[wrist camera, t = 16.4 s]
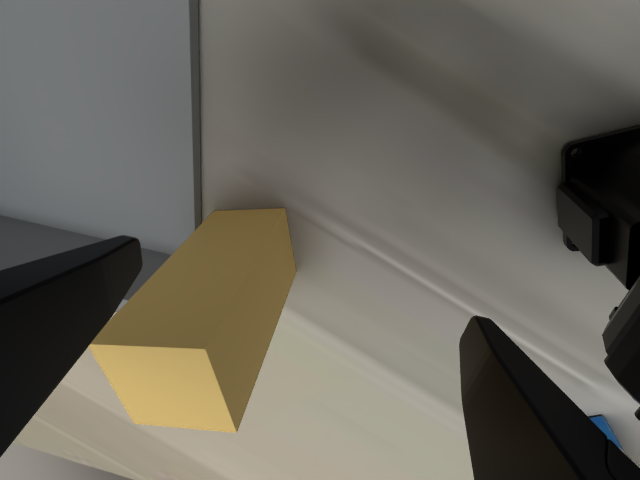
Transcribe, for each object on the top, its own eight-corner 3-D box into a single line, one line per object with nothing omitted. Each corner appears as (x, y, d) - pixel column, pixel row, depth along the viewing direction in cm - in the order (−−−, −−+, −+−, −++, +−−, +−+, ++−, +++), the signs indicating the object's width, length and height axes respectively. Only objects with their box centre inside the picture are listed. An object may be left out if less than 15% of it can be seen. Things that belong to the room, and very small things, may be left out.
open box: (194, -236, 14) (84, -389, 9) (202, 266, 27) (158, 322, 22) (-203, -298, 15) (-512, -469, 10) (-12, 216, 28) (-103, 258, 22)
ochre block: (285, 208, 23) (205, 349, 13) (296, 271, 26) (236, 432, 15) (213, 211, 24) (86, 344, 14) (231, 272, 27) (134, 423, 16)
